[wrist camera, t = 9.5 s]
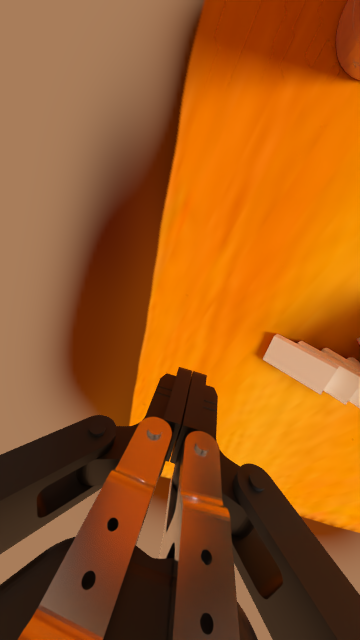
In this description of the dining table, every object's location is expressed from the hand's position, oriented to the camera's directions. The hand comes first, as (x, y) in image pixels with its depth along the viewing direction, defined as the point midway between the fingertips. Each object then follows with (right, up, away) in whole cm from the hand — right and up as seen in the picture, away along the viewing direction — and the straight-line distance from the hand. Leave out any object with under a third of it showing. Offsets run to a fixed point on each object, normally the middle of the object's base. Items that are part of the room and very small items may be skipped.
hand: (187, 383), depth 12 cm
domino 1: (+15, -1, +29) cm, 33 cm away
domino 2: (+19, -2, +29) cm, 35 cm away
